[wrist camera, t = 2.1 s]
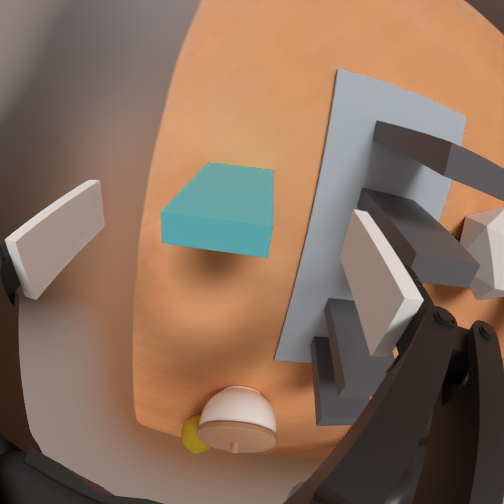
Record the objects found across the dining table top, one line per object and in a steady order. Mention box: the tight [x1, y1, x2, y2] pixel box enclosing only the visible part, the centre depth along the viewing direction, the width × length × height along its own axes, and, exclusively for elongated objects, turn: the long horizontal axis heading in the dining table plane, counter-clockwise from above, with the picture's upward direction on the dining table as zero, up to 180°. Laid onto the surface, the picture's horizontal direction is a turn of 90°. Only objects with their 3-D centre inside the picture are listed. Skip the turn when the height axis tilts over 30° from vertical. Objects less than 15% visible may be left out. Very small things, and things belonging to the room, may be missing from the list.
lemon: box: [182, 414, 211, 454], centre depth 38 cm, size 6×6×8 cm
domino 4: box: [357, 188, 480, 288], centre depth 16 cm, size 2×5×10 cm, turn 84°
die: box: [460, 207, 504, 300], centre depth 18 cm, size 8×9×10 cm
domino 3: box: [373, 120, 504, 201], centre depth 13 cm, size 2×5×10 cm, turn 84°
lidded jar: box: [196, 386, 277, 454], centre depth 33 cm, size 11×11×9 cm
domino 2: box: [310, 336, 370, 426], centre depth 25 cm, size 2×5×10 cm, turn 84°
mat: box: [274, 69, 467, 363], centre depth 24 cm, size 30×12×1 cm, turn 173°
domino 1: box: [324, 298, 395, 397], centre depth 22 cm, size 2×5×10 cm, turn 84°
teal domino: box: [161, 163, 274, 258], centre depth 17 cm, size 2×5×10 cm, turn 83°
